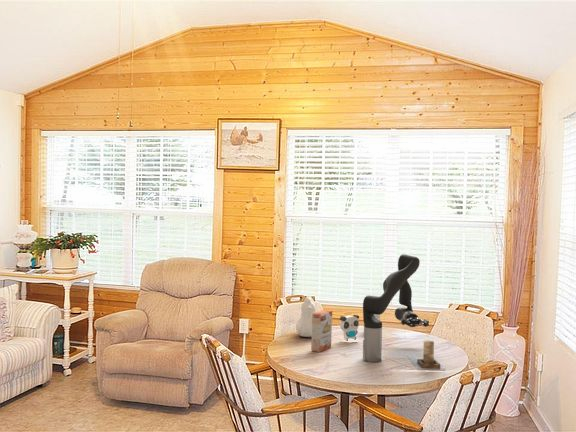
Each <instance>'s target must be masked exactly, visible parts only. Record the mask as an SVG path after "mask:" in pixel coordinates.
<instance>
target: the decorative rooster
mask: <svg viewBox="0 0 576 432" xmlns="http://www.w3.org/2000/svg"><path fill="white" fill-rule="evenodd" d="M316 308H317V307H316V305H315V303H314V301H312V298H311V297H310V296H306V297H305V298H304V300H303V302H302V304H301V311H300V312H301V316H300V317H299V319H298V320H297V323H296V325H295V328H296V329H295V330H296V333H297V335H298V336H300V337H303V338H304V337H305V338H312V313H316V312H317V309H316Z"/></svg>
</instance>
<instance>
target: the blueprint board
mask: <svg viewBox="0 0 576 432" xmlns="http://www.w3.org/2000/svg"><path fill="white" fill-rule="evenodd" d="M406 357H407V358H408V360H409V361H410V362H411V363H412V365H413V366H414V367H415V368H416V370H438V369H437V368H421V367H420V365H419V364H418V363H417V359H423V355H422V356H417V355H409V356H408V355H407V356H406ZM434 359H435V360H436V361H437V362H438V363H439V364H440V369H439V370H442V371H445V370H446V368H445V367H444V366H443V365H442V364H441V362H439V361H438V360H437V359H436V358H435V357H434Z"/></svg>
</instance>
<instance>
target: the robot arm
mask: <svg viewBox="0 0 576 432" xmlns="http://www.w3.org/2000/svg"><path fill="white" fill-rule="evenodd" d="M420 262H421V261H420V259H419V257H417V256H415V255H410V254H403V253H402V254H401V255H399V257H398V260H397V271H394V272H392V273H390V274H389V275H387V277H386V278H385V279H384V281H383V282H382V283H383V284H382V289H383V293H382V295H380V296H377V295H366V296H365V297H364V299H363V301H362V317H363V318H362V319H363V340H362V348H363V349H362V360H363V361H364V362H369V363H370V362H371V363H378V362H381V361H382V358H383V357H382V346H383V343H382V341H383V337H382V336H383V323H382V321H381V319H380V320H378V319H377V318H376V317H375V316H374V314H377V315H380V316H381V315H382V314H384V312H385V311H386V310H387V308H388V306H389V304H390V303H391V301H392V300H393V298H394V297H395V296H396V294H397V293H398V292H399V295H398V296H399V297H398V304H399V305H401V306H405V307H397V308H396V309H395V311H394V316H395V319H396V320H398V321H400V323H401V325H403V326H404V325H405V326H408V327H410V328H415V327H417V326H419V327H425V328H427V327H428V326H429V324H430V321H429V320H428V319H426V318H424V319H421V318H420V316H418V315H417V314H416V313H415V312H414V310H413V307H412V296H413V291H412V287H411V284H410V283H409V281H408V279H409V278H411V277H412V276H413V275H414V274H416V272H417V270H418V269H419V267H420Z"/></svg>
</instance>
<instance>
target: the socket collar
mask: <svg viewBox="0 0 576 432" xmlns="http://www.w3.org/2000/svg"><path fill="white" fill-rule="evenodd" d="M435 359H436V358H435ZM435 359H434V364H423V359H417V363H418V364H419V365H420V367H421V368H437V369H436V370H441V369H440V364H441V363H440V362H439V361H438V360H437V359H436V360H437V361H438V362H439V363H440V364H439V363H438V362H437V361H436V360H435Z"/></svg>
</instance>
